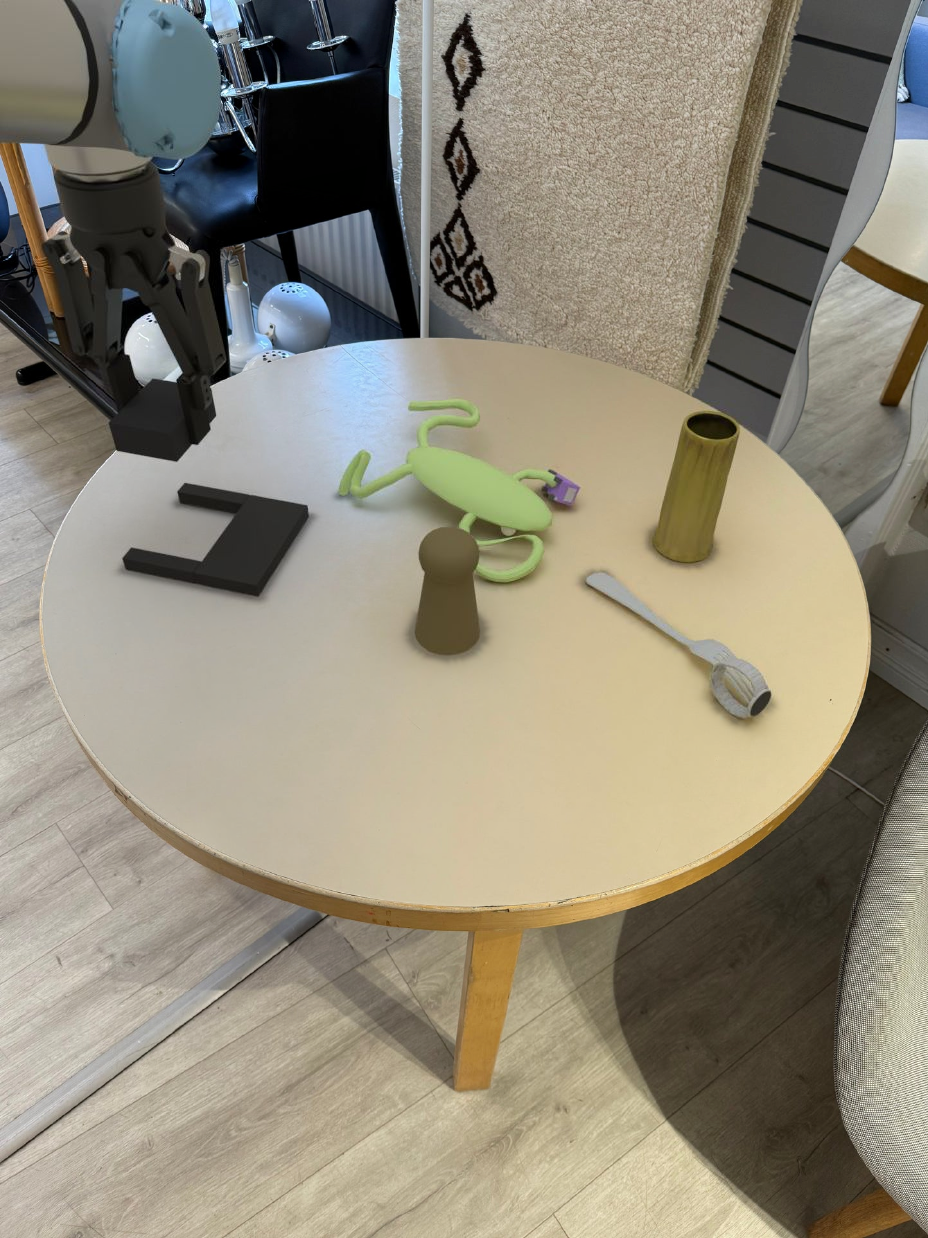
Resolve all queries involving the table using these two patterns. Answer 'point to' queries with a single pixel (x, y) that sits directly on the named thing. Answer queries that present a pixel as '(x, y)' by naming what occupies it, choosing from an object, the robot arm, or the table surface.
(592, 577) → the fork
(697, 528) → the vase
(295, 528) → the black pad
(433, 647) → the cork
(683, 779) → the table surface
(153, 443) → the charcoal pad
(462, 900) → the table surface
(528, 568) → the figurine
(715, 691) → the ring
